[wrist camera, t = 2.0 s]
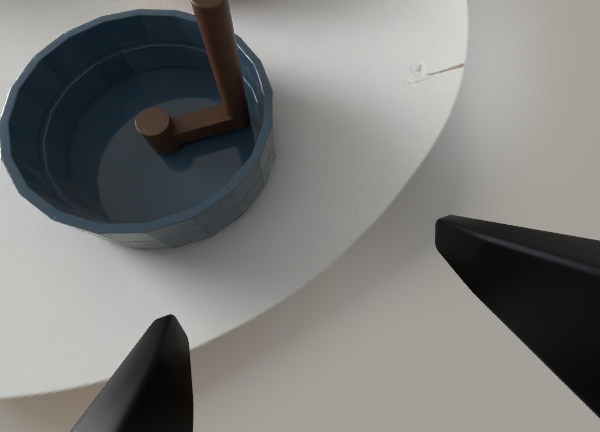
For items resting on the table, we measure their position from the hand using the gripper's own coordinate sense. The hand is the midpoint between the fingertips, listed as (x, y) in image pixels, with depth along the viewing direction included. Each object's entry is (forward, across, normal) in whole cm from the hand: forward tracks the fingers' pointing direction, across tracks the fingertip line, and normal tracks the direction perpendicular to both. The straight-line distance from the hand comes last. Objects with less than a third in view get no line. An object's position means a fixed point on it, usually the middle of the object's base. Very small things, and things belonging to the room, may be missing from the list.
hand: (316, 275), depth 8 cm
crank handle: (+19, +3, -1) cm, 20 cm away
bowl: (+20, +6, -1) cm, 21 cm away
